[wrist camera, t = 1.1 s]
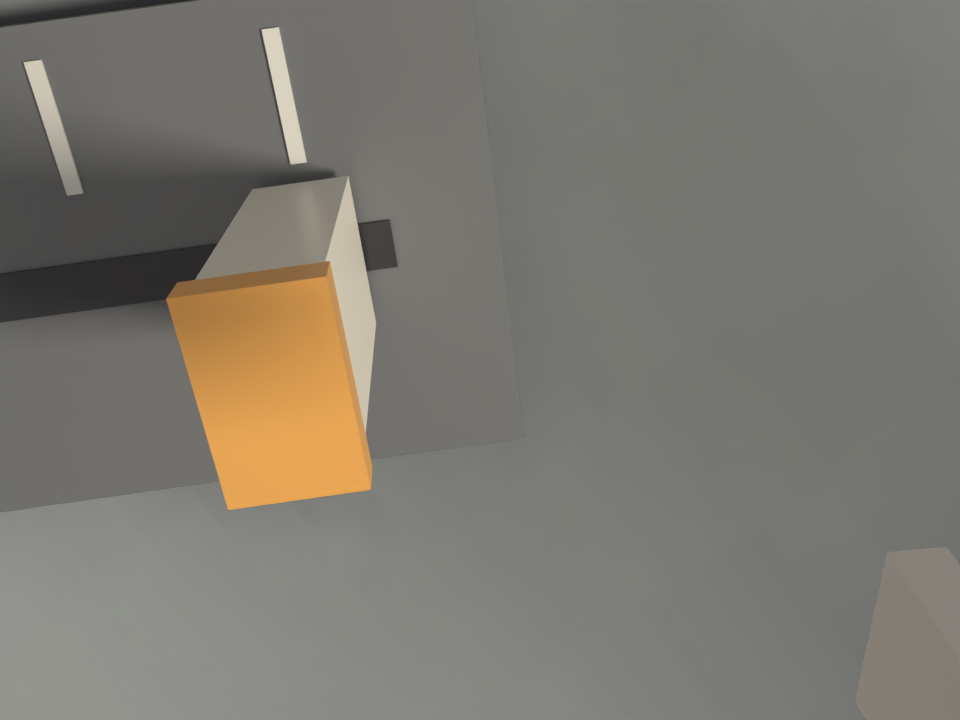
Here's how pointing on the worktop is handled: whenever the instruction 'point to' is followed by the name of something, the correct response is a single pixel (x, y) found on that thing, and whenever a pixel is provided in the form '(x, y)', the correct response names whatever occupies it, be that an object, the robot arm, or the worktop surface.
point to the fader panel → (213, 205)
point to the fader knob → (283, 346)
